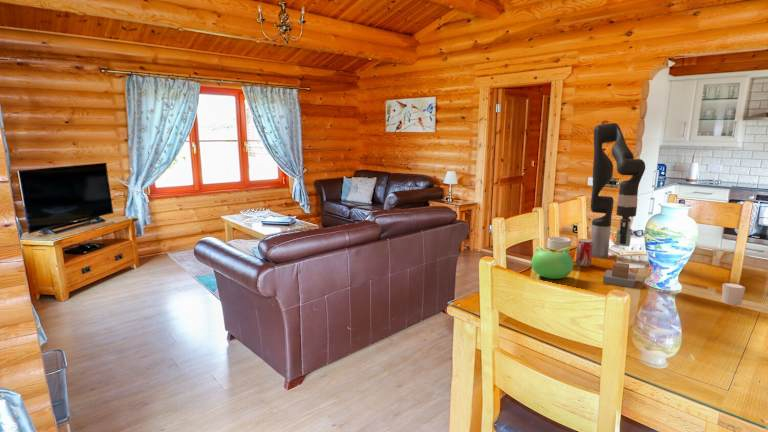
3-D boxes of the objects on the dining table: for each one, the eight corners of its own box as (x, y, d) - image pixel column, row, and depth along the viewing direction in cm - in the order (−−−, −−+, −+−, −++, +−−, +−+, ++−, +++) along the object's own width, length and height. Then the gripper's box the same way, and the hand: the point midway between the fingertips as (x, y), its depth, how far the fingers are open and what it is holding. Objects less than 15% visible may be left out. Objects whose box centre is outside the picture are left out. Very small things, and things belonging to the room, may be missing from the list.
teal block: (617, 242, 189) (618, 227, 188) (629, 244, 186) (631, 229, 185) (615, 245, 185) (617, 229, 184) (628, 246, 182) (630, 230, 181)
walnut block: (613, 272, 192) (614, 261, 191) (628, 274, 189) (629, 264, 188) (611, 275, 187) (612, 265, 186) (627, 278, 184) (628, 267, 183)
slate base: (606, 275, 197) (606, 269, 196) (635, 280, 190) (636, 274, 190) (602, 282, 187) (603, 276, 187) (633, 287, 180) (634, 281, 180)
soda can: (587, 263, 217) (589, 238, 215) (593, 267, 210) (595, 242, 208) (573, 262, 218) (575, 238, 216) (578, 266, 211) (580, 241, 209)
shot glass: (738, 300, 166) (740, 283, 165) (746, 306, 160) (749, 289, 158) (717, 298, 168) (719, 281, 167) (724, 304, 162) (727, 287, 161)
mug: (538, 259, 225) (539, 235, 223) (557, 258, 227) (558, 234, 225) (553, 267, 211) (555, 241, 208) (573, 266, 212) (575, 241, 210)
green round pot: (528, 279, 191) (530, 248, 189) (533, 269, 206) (535, 241, 203) (571, 285, 183) (573, 253, 181) (573, 275, 198) (575, 245, 195)
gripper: (618, 202, 191) (615, 238, 193) (615, 206, 179) (611, 244, 182) (638, 203, 186) (634, 240, 189) (635, 207, 175) (631, 247, 178)
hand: (623, 242), depth 186 cm, fingers closed on teal block, 5 cm apart
